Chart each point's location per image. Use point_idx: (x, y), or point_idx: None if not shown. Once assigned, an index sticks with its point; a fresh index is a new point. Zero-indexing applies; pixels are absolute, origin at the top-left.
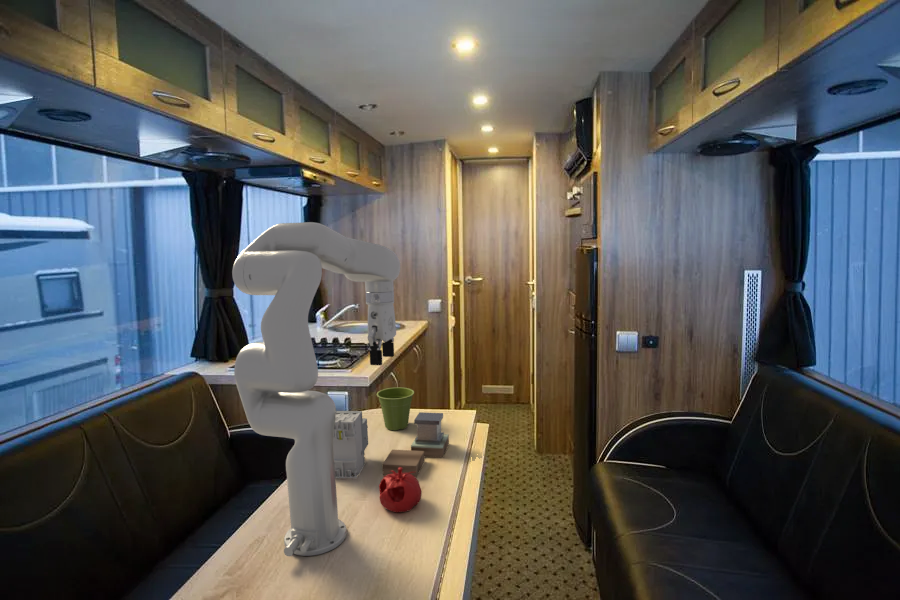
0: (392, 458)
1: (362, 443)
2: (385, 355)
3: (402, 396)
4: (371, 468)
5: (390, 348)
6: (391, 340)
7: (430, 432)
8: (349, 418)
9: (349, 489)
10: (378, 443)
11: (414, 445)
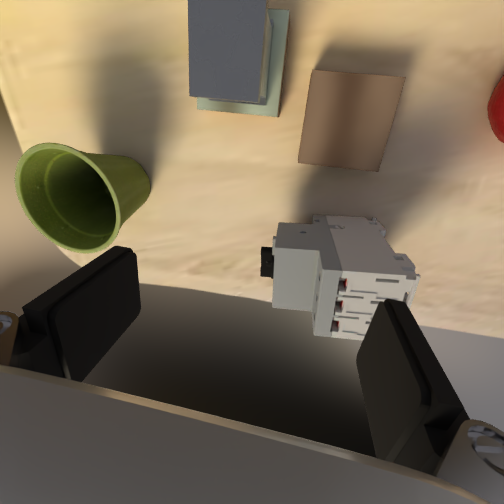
0: (349, 152)
1: (327, 232)
2: (137, 301)
3: (46, 183)
4: (335, 197)
5: (95, 299)
6: (17, 343)
7: (267, 46)
8: (380, 292)
9: (421, 222)
10: (216, 206)
11: (276, 106)
